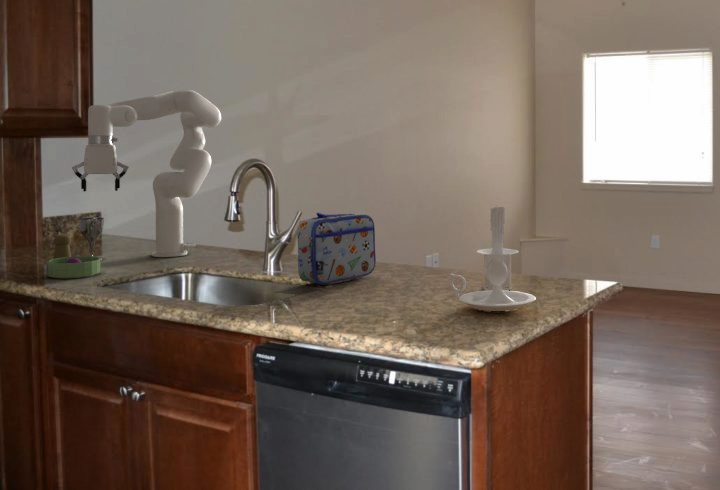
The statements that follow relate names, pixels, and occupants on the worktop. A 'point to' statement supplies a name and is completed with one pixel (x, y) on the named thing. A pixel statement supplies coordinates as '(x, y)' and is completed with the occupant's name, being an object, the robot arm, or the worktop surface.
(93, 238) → the wine glass
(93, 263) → the bowl
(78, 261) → the ball
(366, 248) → the lunch box
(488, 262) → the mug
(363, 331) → the worktop surface
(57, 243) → the cork
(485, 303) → the candlestick
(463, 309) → the worktop surface
